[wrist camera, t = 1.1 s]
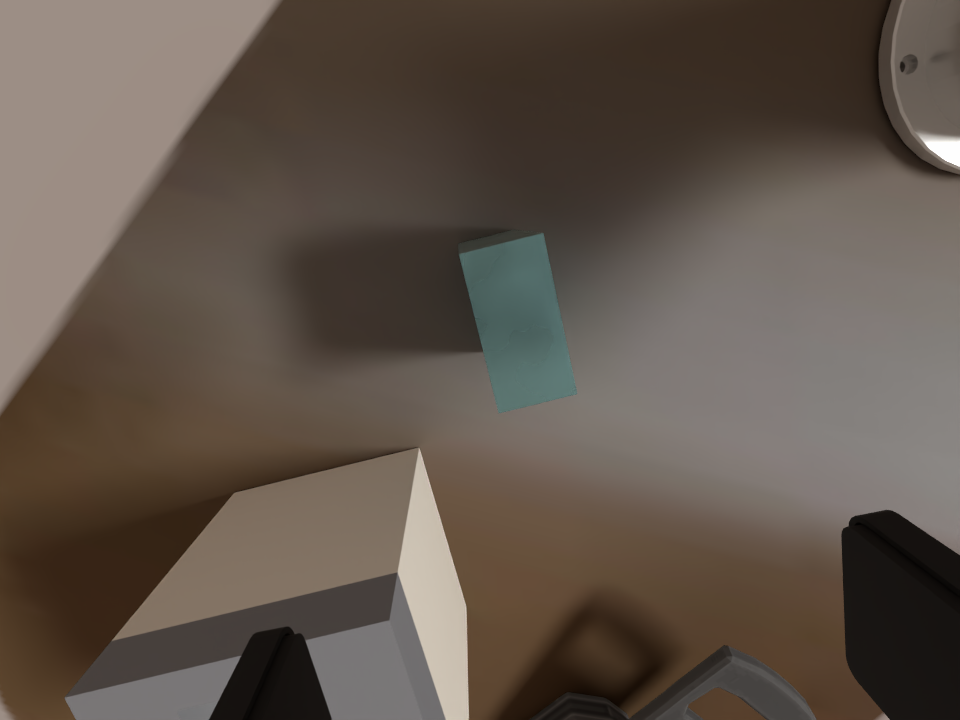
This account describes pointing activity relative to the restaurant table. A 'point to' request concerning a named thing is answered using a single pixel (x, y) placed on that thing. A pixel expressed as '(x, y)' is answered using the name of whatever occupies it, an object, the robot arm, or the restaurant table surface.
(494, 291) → the teal block
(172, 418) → the restaurant table surface
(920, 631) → the robot arm
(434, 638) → the white slotted box
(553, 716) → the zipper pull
